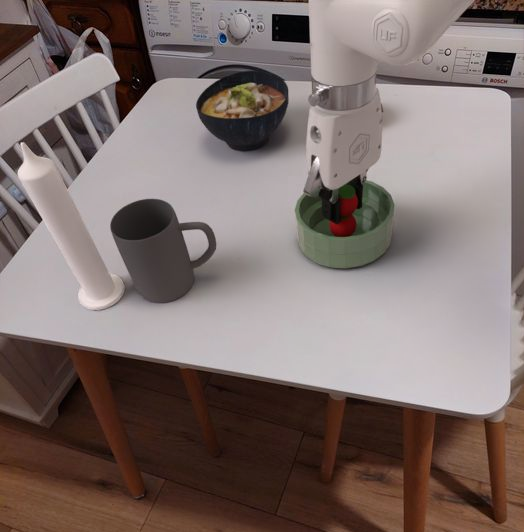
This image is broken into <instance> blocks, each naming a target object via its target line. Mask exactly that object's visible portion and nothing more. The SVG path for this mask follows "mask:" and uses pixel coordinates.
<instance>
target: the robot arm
mask: <svg viewBox="0 0 524 532" xmlns="http://www.w3.org/2000/svg"><path fill="white" fill-rule="evenodd" d="M475 1H476V0H308V18H309V19H308V22H309V47H310V49H309V50H310V72H311V73H310V75H311V77H310V78H311V94H309V95H308V97H307V100H308V103H309V105H310V106H309V111H308V112H309V113H308V118H307V119H308V120H307V129H306V145H305V147H306V148H305V149H306V150H305V151H306V152H305V153H306V157H305V158H306V169H307V170H306V171H307V175H308V176H307V178H306V182H305V184H304V188H303V193H305V194H307V195H308V196H310V197H321V198H322V215H323V217H325V218H326V219H328V220H330V221H331V222H333V223H335V224H339V223H340V222H341V201H340V200H339V199H338V193H339V188H340V187H341V186H343V185H344V184H347V185H350V186H352V187H353V188H354V189H355V194H356V196H357V199H358V205H357V208H356V209H360V208H362V198H363V185H362V184H363V183H365V181H366V180H368V175H367V173H368V171H369V170H370V168H371V167H373V166H374V165H375V164H377V162H378V161H379V160H380V158H381V155H382V148H383V147H382V145H383V113H382V109H381V104H382V101H381V95H380V91H379V88H378V87H377V70H378V69H377V68H378V62H381V63H383V64H386V65H389V66H390V65H391V66H406V65H410V64H414V63H415V62H416V61H419V60H420V59H422V57H424V56H425V55H426V54H427V53H428V52H429V51H430V50H431V49H432V48H433V46H434V45H435V44H436V43H437V42H438V41H439V40H440V38H441V37H442V36H443V35H444V34H445V33H446V32H447V31H448V30H449V28H450V27H451V26H452V25H453V24H454V23H455V22H456V21H457V20H458V19H459V18H460V17H461V16H462V15H463V13H465V11H466V10H468V8H469V7H470V6H471V5H472V4H473V3H474V2H475ZM327 188H329V189H330V191H328V190H327Z"/></svg>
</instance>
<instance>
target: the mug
mask: <svg viewBox="0 0 524 532" xmlns="http://www.w3.org/2000/svg"><path fill="white" fill-rule="evenodd" d="M109 228H110V232H111V235H112V239H113V241H114V243H115V246H116V248H117V250H118V252H119V255H120V257H121V260H122V262H123V263H124V265H125V268H126V271H127V272H128V273H129V274H128V275H129V277H130V279H131V281H132V284H134V287H135V289H136V291H137V292H138V294H139V295H140V296H141V297H142V298H143V299H144V300H146V301H147V302H151V303H155V304H156V303H157V304H161V303H162V304H164V303H169V302H172V301H176V300H177V299H180V298H181V297H183V296H185V294H187V293H188V292H189V290H190V289H191V288H192V286H193V284H194V281H195V271H194V269H197V268H200V267H201V266H203V265H204V264H205V263H207V262H208V261H209V260H210V259H211V258H212V257H213V255H214V254H215V252H216V250H217V238H216V235H215V232H214V230H213V229H212V227H211V226H210V225H209V224H208V223H206V222H204V221H188V222H187V221H186V222H180V221H179V218H178V216H177V213H176V211H175V209H174V207H173V206H172V204H171V203H169V202H168V201H165V200H163V199H159V198H143V199H138V200H135V201H132V202H130V203H128V204H126V205H125V206H123V207H121V208H120V209H119V210H118V211H116V212H115V214H114V215H113V216H112V218H111V221H110V227H109ZM195 230H196V231H197V230H198V231H199V230H200V231H202V232H203V233H204V234H205V236H206V239H207V243H208V246H207V249H206V250H205V251H204V253H203V254H201V255H200V256H199V257H198V258H196V259H193V260H191V256H190V253H189V249H188V246H187V244H186V240H185V236H184V234H183V232H184V231H185V232H186V231H195Z"/></svg>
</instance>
